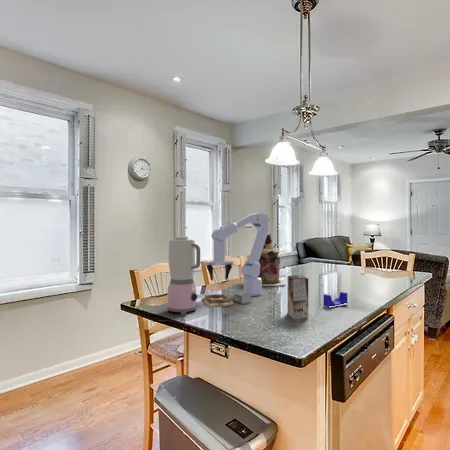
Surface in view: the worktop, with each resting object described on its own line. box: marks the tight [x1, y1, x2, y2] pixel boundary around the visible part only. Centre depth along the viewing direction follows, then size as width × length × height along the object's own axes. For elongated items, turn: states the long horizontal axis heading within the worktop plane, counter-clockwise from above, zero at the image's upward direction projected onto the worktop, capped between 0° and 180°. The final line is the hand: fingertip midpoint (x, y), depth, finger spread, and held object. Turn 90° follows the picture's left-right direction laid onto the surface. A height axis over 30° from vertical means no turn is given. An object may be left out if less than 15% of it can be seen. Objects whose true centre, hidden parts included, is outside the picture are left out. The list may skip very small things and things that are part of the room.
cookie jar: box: [258, 233, 286, 287], centre depth 216 cm, size 25×25×32 cm
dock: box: [201, 293, 235, 308], centre depth 162 cm, size 12×16×3 cm
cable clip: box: [322, 291, 348, 307], centre depth 155 cm, size 12×4×6 cm, turn 119°
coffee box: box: [287, 274, 309, 320], centre depth 138 cm, size 9×6×16 cm
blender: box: [167, 236, 201, 315], centre depth 145 cm, size 16×12×32 cm
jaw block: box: [234, 292, 252, 305], centre depth 163 cm, size 5×7×4 cm
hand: (219, 279), depth 172 cm, fingers open, 7 cm apart
